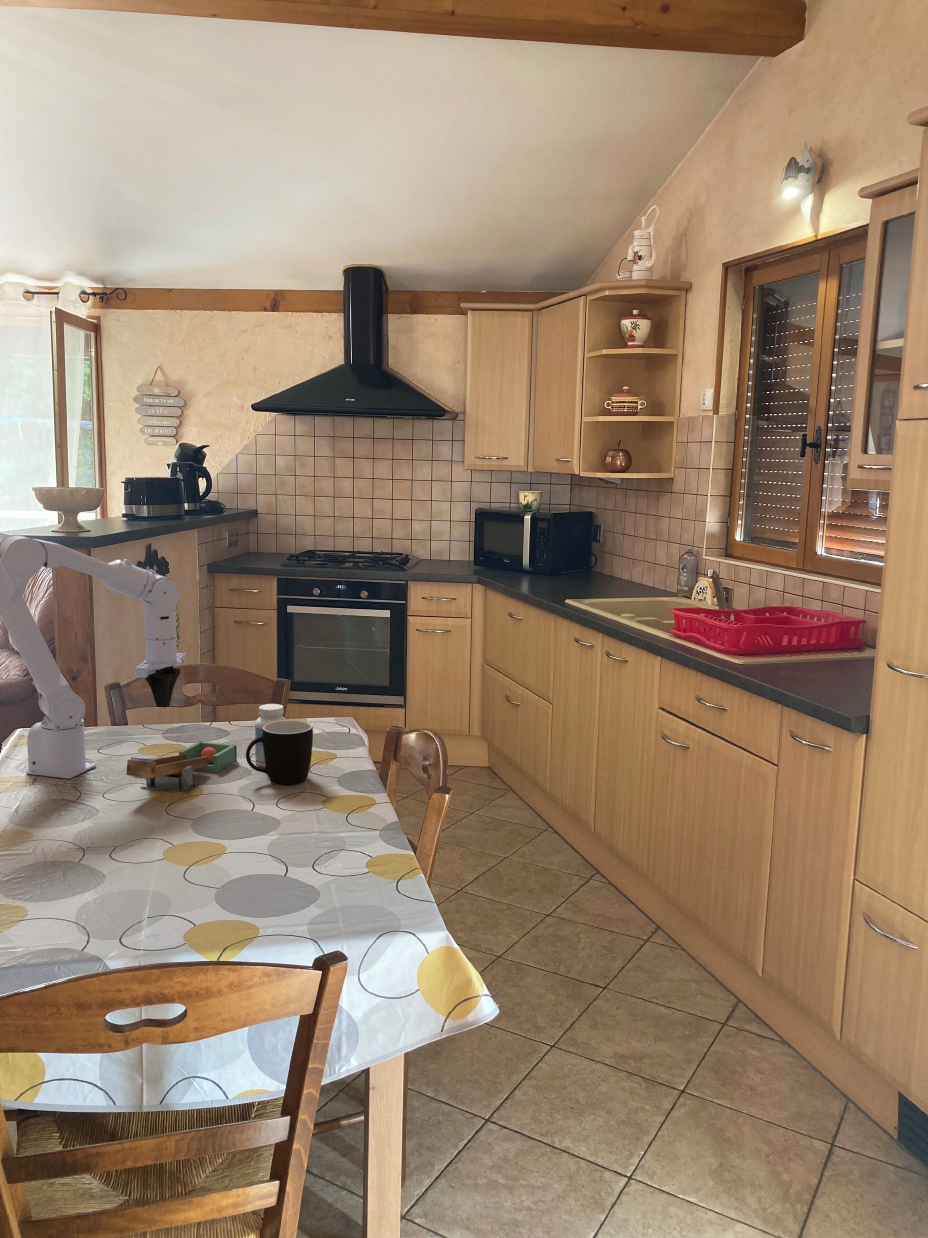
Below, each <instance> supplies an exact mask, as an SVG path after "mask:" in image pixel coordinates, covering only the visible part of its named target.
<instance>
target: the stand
mask: <svg viewBox="0 0 928 1238" xmlns="http://www.w3.org/2000/svg"><path fill="white" fill-rule="evenodd" d="M198 787H199V784H195V783H194V782H193V770H192V766H187V767H185V768H183V769H182V775H174V774H169V775H165V776H160V777H155V778H147V777H145V784H142V785H140V789H145V790H154V791H160V792H162V791H163V792H171V793H178V794H179V793H180V794H188V793H189V792H191V791H193V790H194V789H196V788H198Z"/></svg>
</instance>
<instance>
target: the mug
mask: <svg viewBox="0 0 928 1238" xmlns="http://www.w3.org/2000/svg"><path fill="white" fill-rule="evenodd" d="M313 741H314V727H313V725H312V724H311V723H309V722H307V721H303V720H294V719H293V720H291V719H290V720H287V719H286V720H285V721H276V722H272V723H268V724H266V725H265V726H264V727H263V734H262V736H260V737H258V738H256V739H255V738H254V739H253V740H252V741H250V743H248V746H247V748H246V751H245V759H246V762H247V764H248V766H249V767H250V768H251V769H252V770H254V771H256V772H259V773H264V774H266V775H267V777H268V779H269V781H270V782H271V783H272V784H273V785H276V786H282V787H283V786H284V787H291V786H297V785H300V784H303V783H304V782H306V781H307V779H308V777H309V772H310V769H311V762H312V756H313V754H312V753H313V743H314V742H313ZM258 742H262V743H263V748H264V757H265V767H263V766H262V767H261V766H258V765H255V764H254V763H253V762H252V761H251V755H250V754H251V750H252V749H253V747H255V744H256V743H258Z"/></svg>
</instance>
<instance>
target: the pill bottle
mask: <svg viewBox="0 0 928 1238" xmlns="http://www.w3.org/2000/svg"><path fill="white" fill-rule="evenodd" d="M258 715H259V717H257V719H256V720H255V724H254V726H255V730H254V731H255V732H254V736H255V737H254V740H255V739H256V738H258V737H260V736H262V734H263V727H264V726H265V725H266V724H268V723H272V722H276V721H285V720H287V719H286V718H285V717H284V716H283V715H284V705H282V704H279V703H278V704H277V703H266V704H262V705H260V706H259V707H258ZM254 748H255V756H254V757H255V764H256V766H258V767H262V768H263V767H265V757H264V748H263V743H262V742H258V743H256V744H255V745H254Z"/></svg>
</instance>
